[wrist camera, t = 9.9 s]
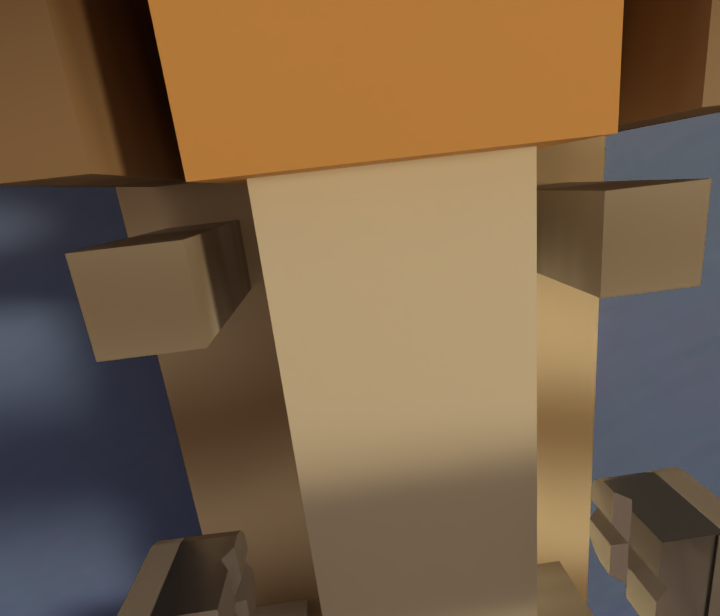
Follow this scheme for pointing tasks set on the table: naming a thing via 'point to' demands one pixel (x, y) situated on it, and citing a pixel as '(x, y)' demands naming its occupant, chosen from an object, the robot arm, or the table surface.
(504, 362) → the orange tipped beige bar
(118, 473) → the table surface
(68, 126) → the rail
